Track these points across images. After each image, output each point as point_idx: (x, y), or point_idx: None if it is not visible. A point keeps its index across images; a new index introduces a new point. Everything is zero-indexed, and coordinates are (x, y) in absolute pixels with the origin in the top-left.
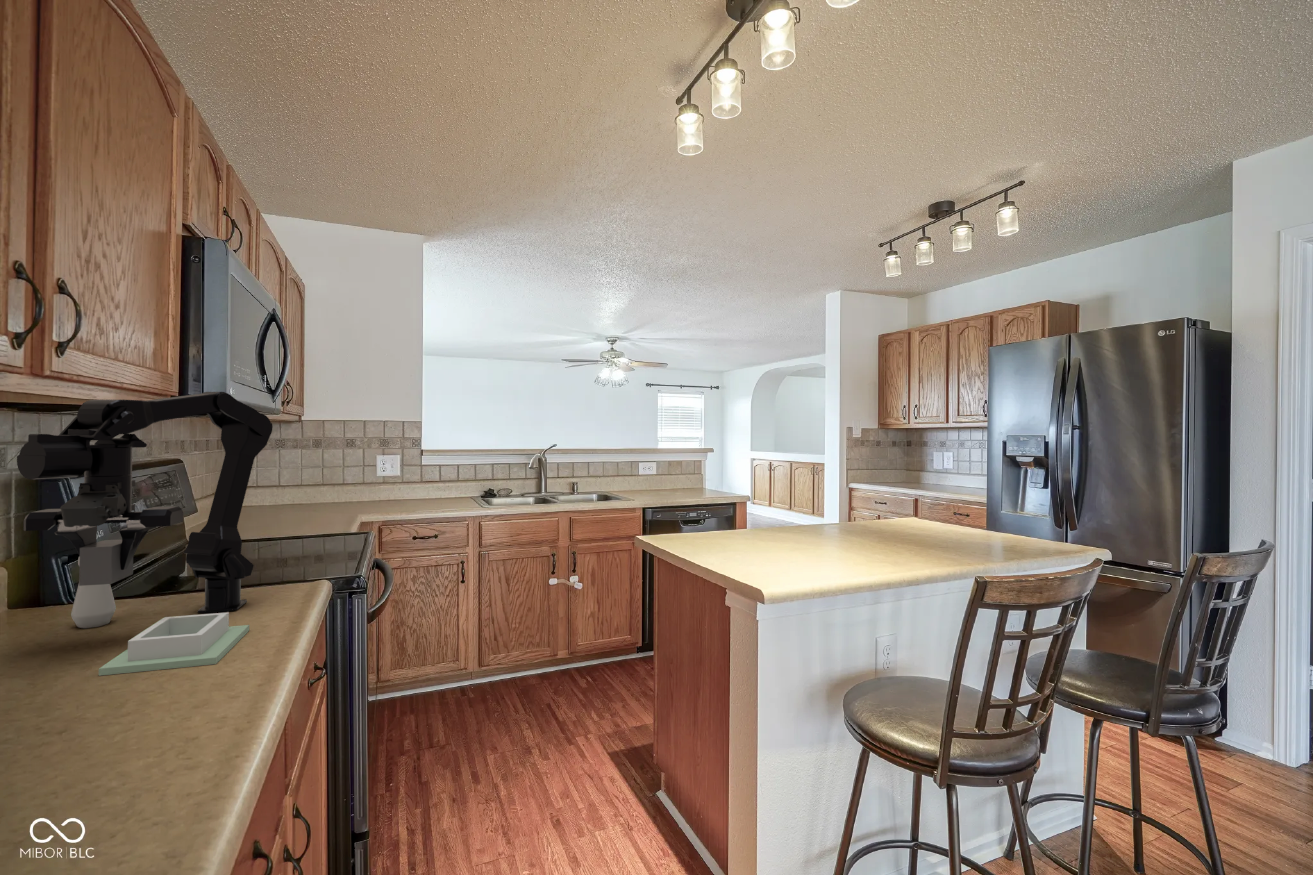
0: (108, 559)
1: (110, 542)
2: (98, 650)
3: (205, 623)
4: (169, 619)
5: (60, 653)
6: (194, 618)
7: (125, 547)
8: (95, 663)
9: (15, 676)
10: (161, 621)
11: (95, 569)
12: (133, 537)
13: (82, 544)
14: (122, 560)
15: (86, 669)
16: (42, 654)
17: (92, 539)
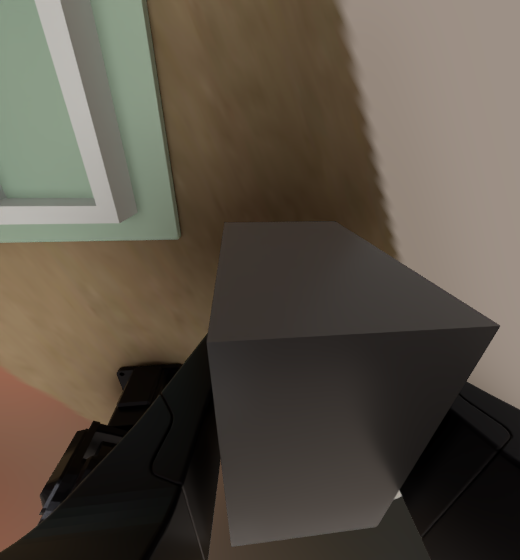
0: (236, 270)
1: (316, 487)
2: (248, 184)
3: (20, 202)
4: (97, 205)
5: (310, 186)
6: (34, 204)
7: (172, 413)
8: (206, 70)
9: (338, 22)
10: (97, 177)
11: (296, 242)
12: (17, 543)
13: (484, 424)
14: None
15: (201, 14)
16: (339, 191)
17: (440, 514)
